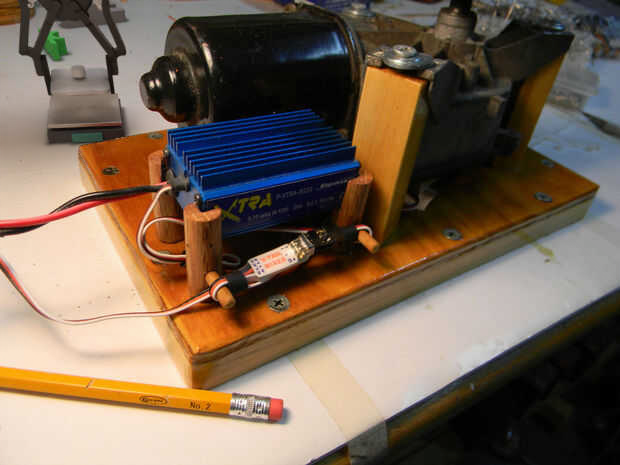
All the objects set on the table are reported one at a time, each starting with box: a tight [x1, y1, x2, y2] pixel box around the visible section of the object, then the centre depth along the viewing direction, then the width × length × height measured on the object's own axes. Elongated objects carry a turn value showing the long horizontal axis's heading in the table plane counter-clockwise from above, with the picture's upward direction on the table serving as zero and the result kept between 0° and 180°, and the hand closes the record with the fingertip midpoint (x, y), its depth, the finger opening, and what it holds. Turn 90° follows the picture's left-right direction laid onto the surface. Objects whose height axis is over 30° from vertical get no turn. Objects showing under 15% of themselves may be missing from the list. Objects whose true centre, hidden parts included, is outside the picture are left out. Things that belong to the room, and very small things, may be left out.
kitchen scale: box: [46, 98, 126, 144], centre depth 92 cm, size 13×14×3 cm
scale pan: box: [47, 92, 122, 129], centre depth 91 cm, size 12×12×1 cm
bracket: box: [54, 0, 127, 29], centre depth 134 cm, size 10×18×11 cm, turn 135°
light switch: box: [50, 64, 111, 96], centre depth 87 cm, size 10×10×5 cm
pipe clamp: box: [37, 27, 69, 61], centre depth 116 cm, size 11×4×5 cm, turn 39°
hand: (82, 91), depth 89 cm, fingers closed on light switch, 10 cm apart
